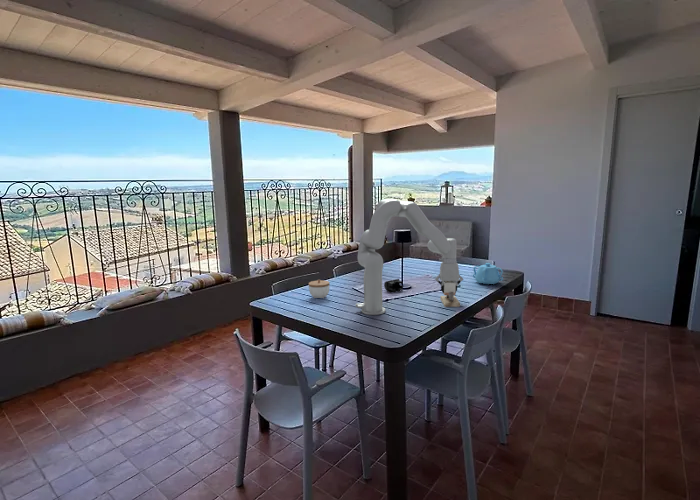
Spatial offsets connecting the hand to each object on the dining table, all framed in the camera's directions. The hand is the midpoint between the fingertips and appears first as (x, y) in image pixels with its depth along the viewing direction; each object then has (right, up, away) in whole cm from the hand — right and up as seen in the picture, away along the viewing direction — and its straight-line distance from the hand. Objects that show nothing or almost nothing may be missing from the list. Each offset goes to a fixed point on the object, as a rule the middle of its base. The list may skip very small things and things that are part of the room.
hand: (449, 291), depth 205 cm
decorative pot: (+36, +1, +38) cm, 53 cm away
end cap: (-28, -2, +27) cm, 39 cm away
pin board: (0, -6, -3) cm, 6 cm away
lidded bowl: (-74, -5, +16) cm, 76 cm away
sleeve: (0, -1, 0) cm, 1 cm away
